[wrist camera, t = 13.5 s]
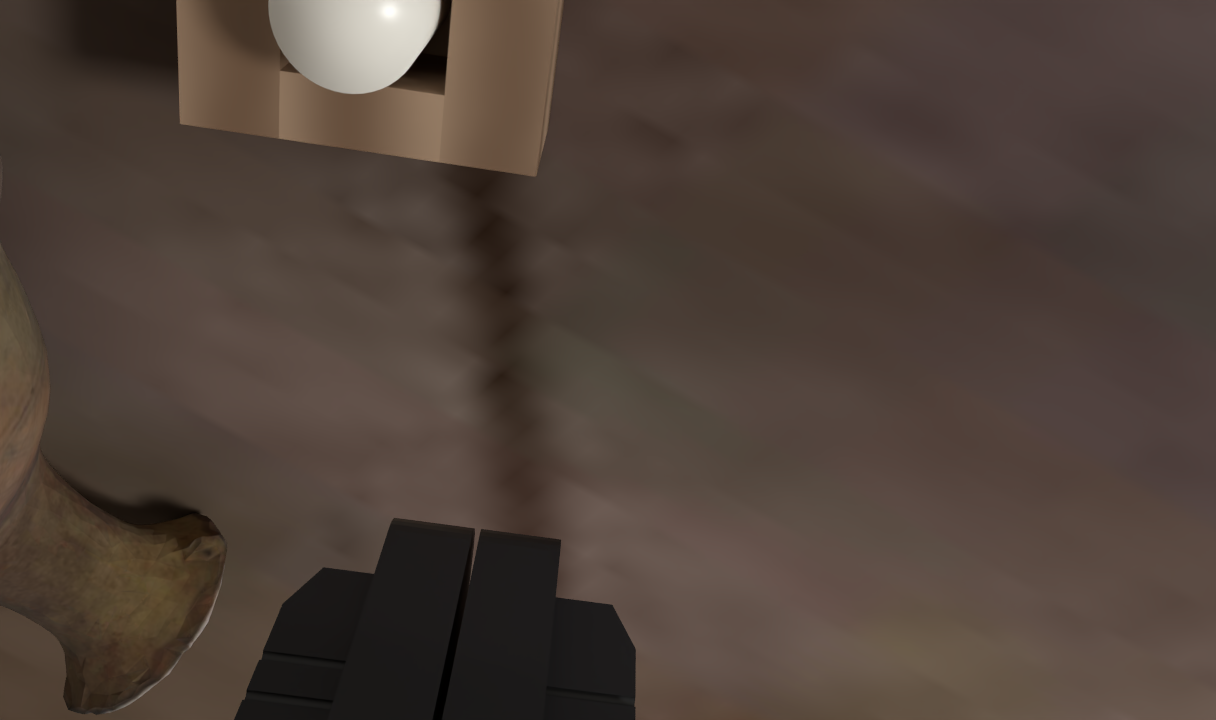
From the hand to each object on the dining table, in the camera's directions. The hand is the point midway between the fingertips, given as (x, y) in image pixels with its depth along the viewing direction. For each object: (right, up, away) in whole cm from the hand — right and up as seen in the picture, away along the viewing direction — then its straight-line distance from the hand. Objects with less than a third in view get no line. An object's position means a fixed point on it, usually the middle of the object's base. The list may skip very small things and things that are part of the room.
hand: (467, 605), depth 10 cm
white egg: (-6, +15, +29) cm, 33 cm away
